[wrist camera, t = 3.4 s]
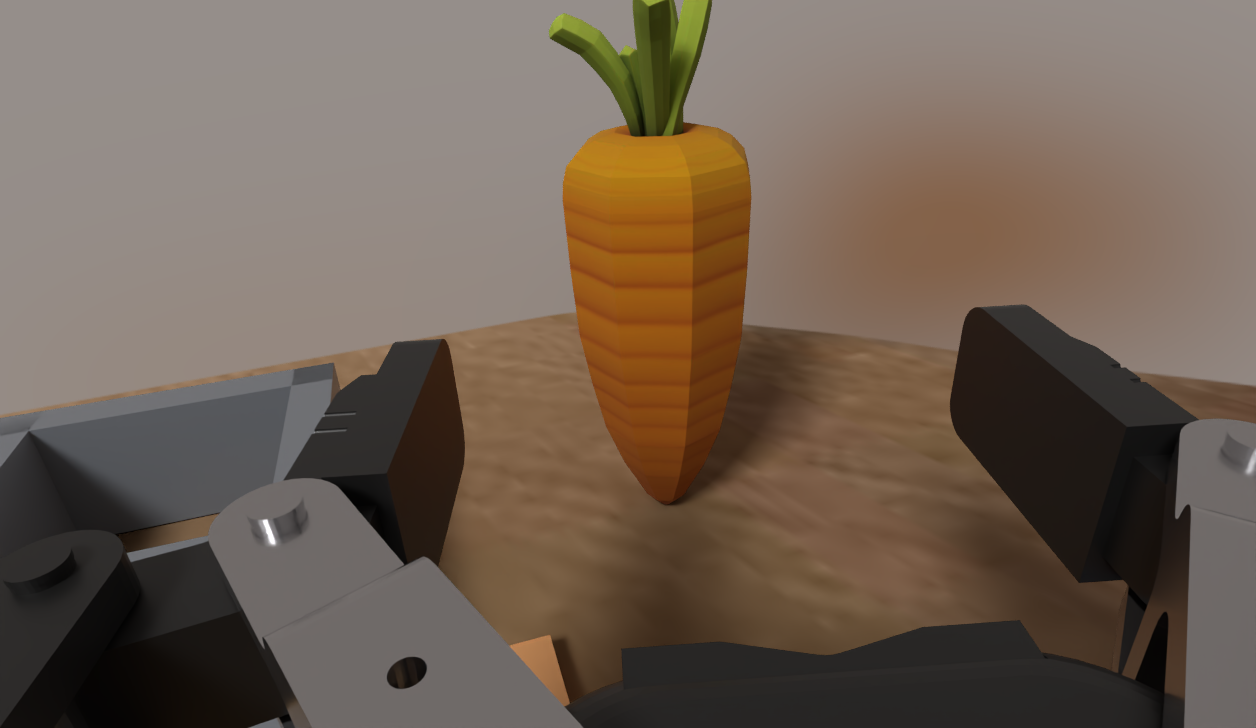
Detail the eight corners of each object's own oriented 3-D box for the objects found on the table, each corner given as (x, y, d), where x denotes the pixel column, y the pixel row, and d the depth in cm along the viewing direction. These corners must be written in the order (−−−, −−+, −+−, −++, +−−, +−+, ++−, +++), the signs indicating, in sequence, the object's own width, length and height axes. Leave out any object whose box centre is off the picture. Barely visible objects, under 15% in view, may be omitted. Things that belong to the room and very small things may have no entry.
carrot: (707, 576, 20) (711, -48, 14) (556, 525, 23) (495, -34, 16) (768, 479, 24) (795, -46, 17) (634, 443, 26) (612, -35, 20)
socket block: (490, 438, 27) (475, 339, 25) (647, 984, 12) (638, 837, 10) (51, 526, 24) (-3, 418, 22) (-498, 1450, 9) (-816, 1350, 7)
